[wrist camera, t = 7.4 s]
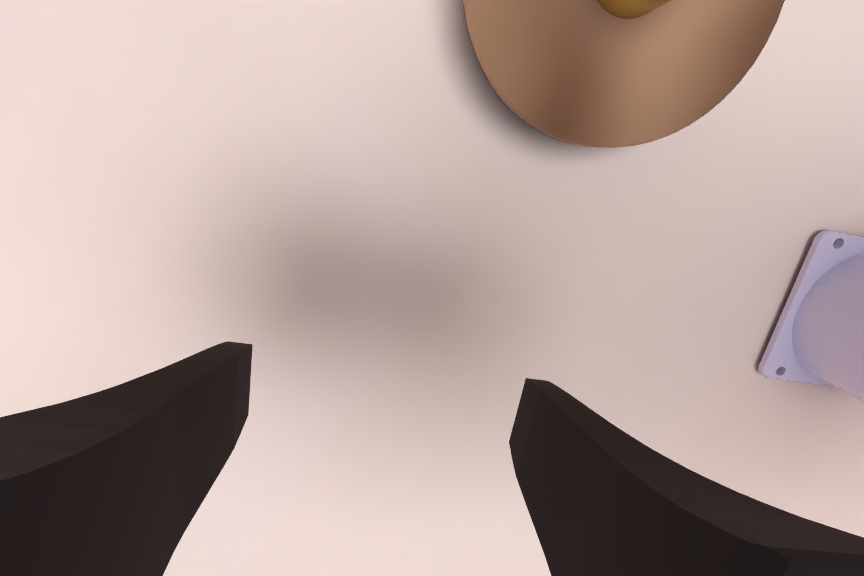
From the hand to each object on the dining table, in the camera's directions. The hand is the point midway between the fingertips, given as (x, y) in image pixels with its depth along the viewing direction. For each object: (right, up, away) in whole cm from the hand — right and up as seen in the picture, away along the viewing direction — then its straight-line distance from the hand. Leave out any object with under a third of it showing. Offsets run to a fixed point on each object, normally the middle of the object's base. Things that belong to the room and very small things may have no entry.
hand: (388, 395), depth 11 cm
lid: (+8, +13, +4) cm, 16 cm away
